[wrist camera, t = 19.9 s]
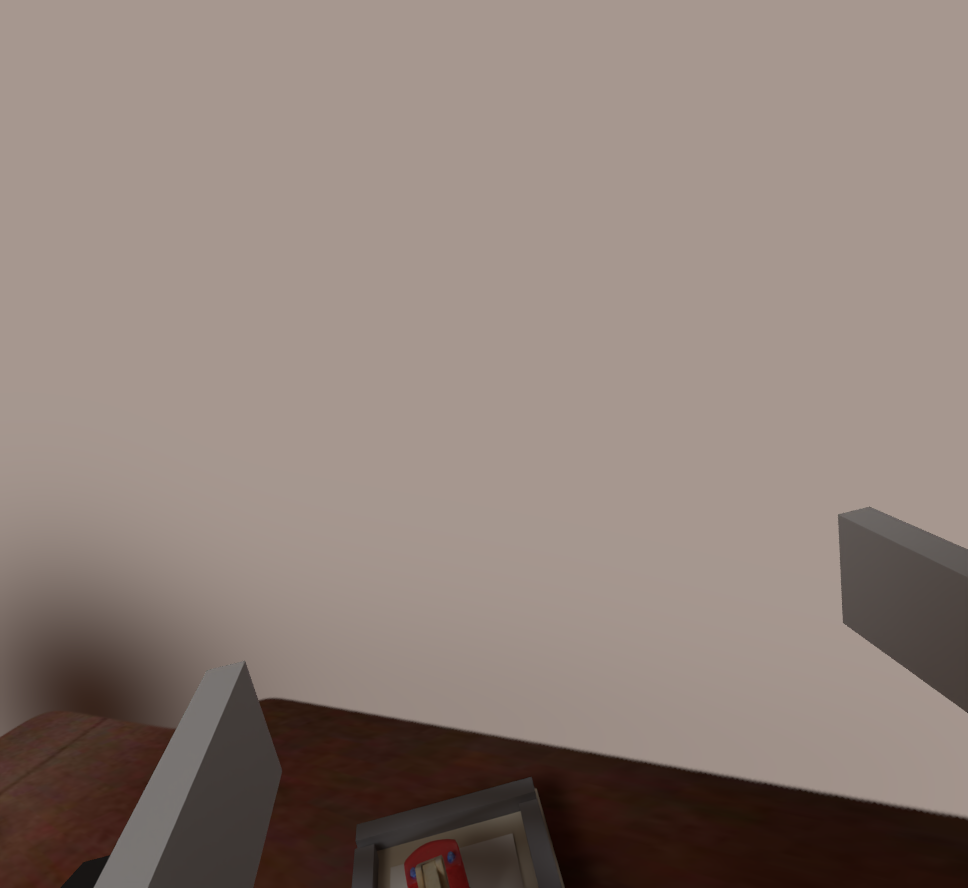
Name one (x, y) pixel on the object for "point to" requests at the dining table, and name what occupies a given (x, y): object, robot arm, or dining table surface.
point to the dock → (465, 840)
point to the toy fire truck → (436, 866)
